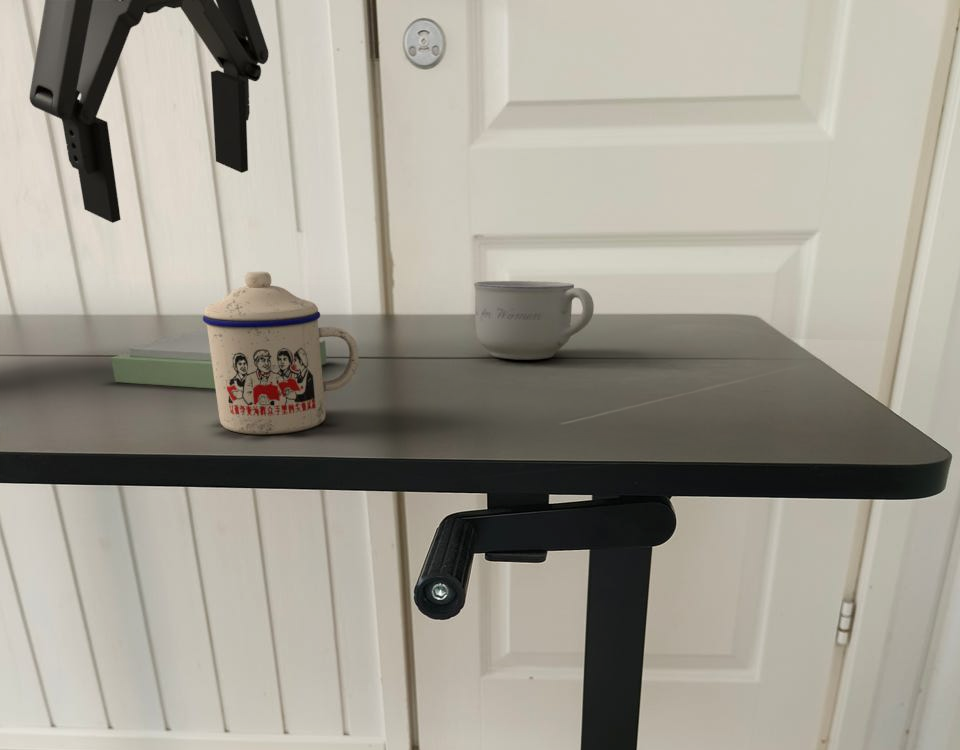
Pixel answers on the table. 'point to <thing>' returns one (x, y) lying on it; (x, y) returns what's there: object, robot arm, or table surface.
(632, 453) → the table surface
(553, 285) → the teacup
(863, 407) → the table surface
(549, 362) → the table surface
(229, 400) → the teacup with lid
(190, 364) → the scale
